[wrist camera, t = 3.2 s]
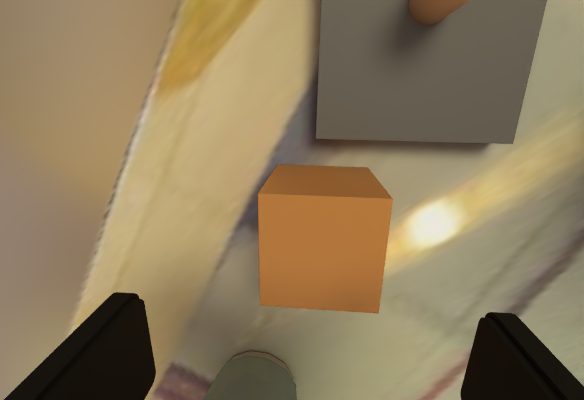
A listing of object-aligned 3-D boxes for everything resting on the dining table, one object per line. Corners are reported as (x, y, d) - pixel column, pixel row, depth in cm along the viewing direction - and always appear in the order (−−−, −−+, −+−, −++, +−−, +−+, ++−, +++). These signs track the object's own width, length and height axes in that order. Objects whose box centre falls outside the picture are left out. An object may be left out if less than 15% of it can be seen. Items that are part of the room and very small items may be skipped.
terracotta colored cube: (360, 249, 22) (378, 313, 15) (277, 245, 22) (259, 305, 15) (367, 167, 20) (392, 198, 13) (277, 164, 20) (257, 193, 14)
